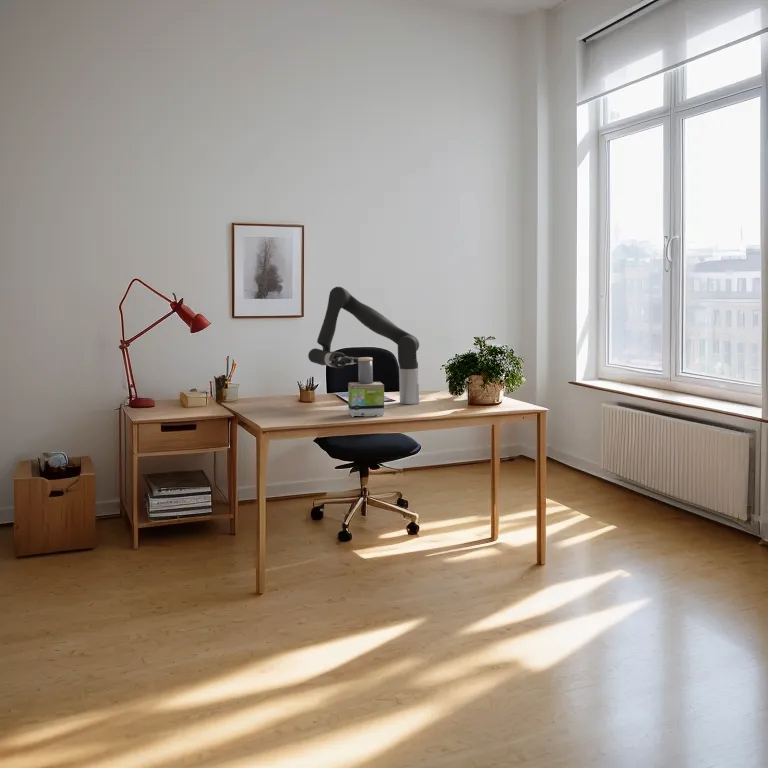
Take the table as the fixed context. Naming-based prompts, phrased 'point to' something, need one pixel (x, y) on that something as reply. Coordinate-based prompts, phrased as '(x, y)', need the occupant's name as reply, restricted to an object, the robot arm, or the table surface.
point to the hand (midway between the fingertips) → (352, 362)
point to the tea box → (365, 399)
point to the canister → (365, 370)
